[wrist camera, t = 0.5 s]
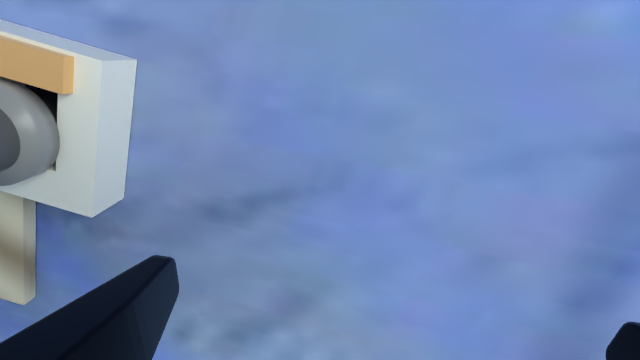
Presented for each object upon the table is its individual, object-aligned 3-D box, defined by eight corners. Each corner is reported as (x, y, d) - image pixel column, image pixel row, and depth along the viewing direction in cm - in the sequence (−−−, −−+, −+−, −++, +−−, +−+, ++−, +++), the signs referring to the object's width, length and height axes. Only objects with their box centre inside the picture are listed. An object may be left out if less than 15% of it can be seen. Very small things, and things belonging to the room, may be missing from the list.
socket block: (123, 198, 24) (83, 223, 20) (-7, 159, 24) (-70, 177, 20) (137, 59, 21) (92, 61, 17) (-13, 15, 21) (-88, 7, 17)
